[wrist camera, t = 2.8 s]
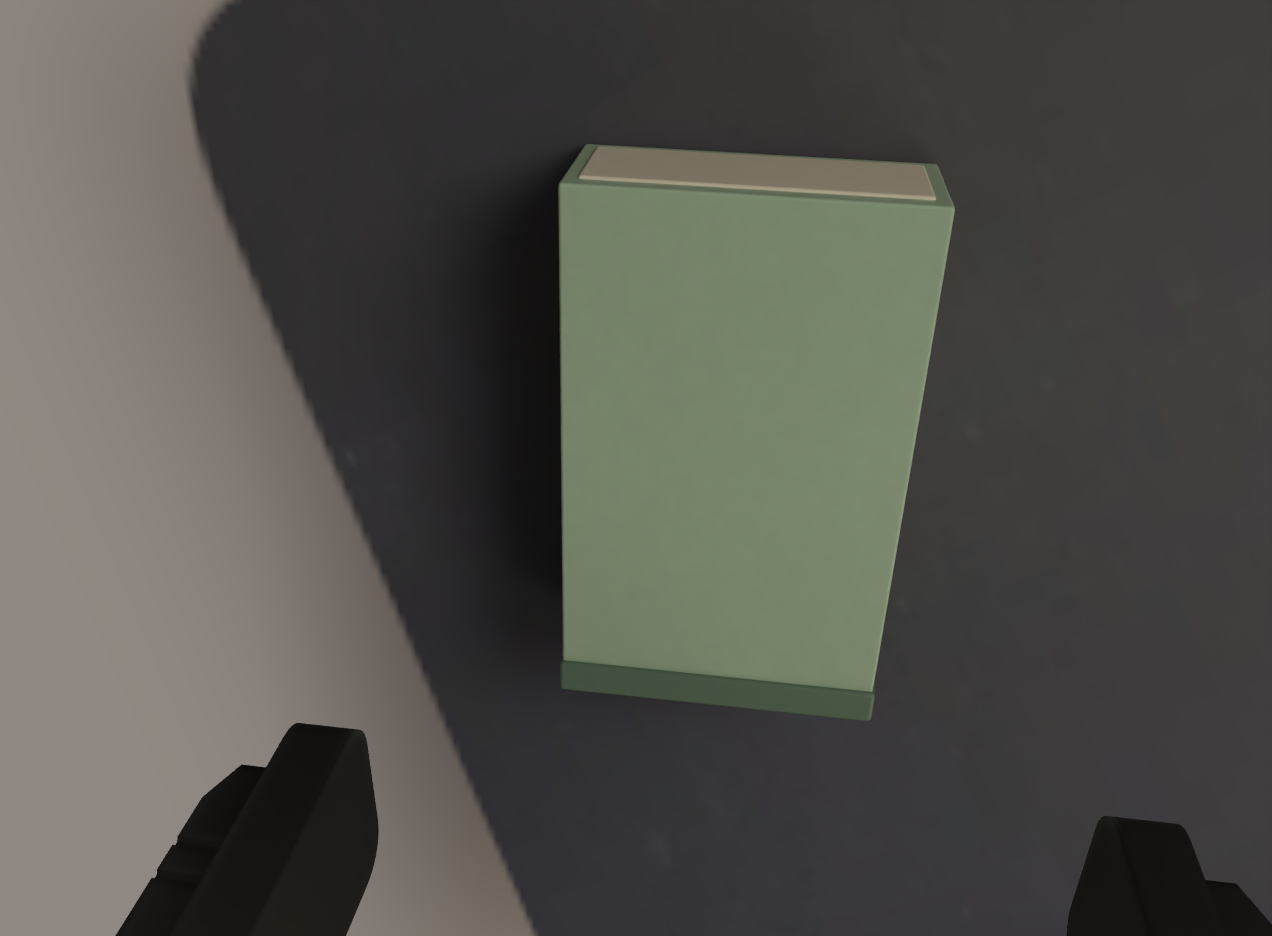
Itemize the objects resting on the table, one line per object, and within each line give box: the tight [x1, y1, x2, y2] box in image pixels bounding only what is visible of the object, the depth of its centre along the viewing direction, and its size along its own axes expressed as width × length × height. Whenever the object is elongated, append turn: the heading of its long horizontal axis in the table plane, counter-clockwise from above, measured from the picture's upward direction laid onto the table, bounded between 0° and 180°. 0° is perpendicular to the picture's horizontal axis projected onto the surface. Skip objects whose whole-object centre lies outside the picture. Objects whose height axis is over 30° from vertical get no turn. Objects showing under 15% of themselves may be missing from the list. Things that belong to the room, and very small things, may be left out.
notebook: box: [558, 144, 955, 721], centre depth 20 cm, size 10×6×3 cm, turn 179°
